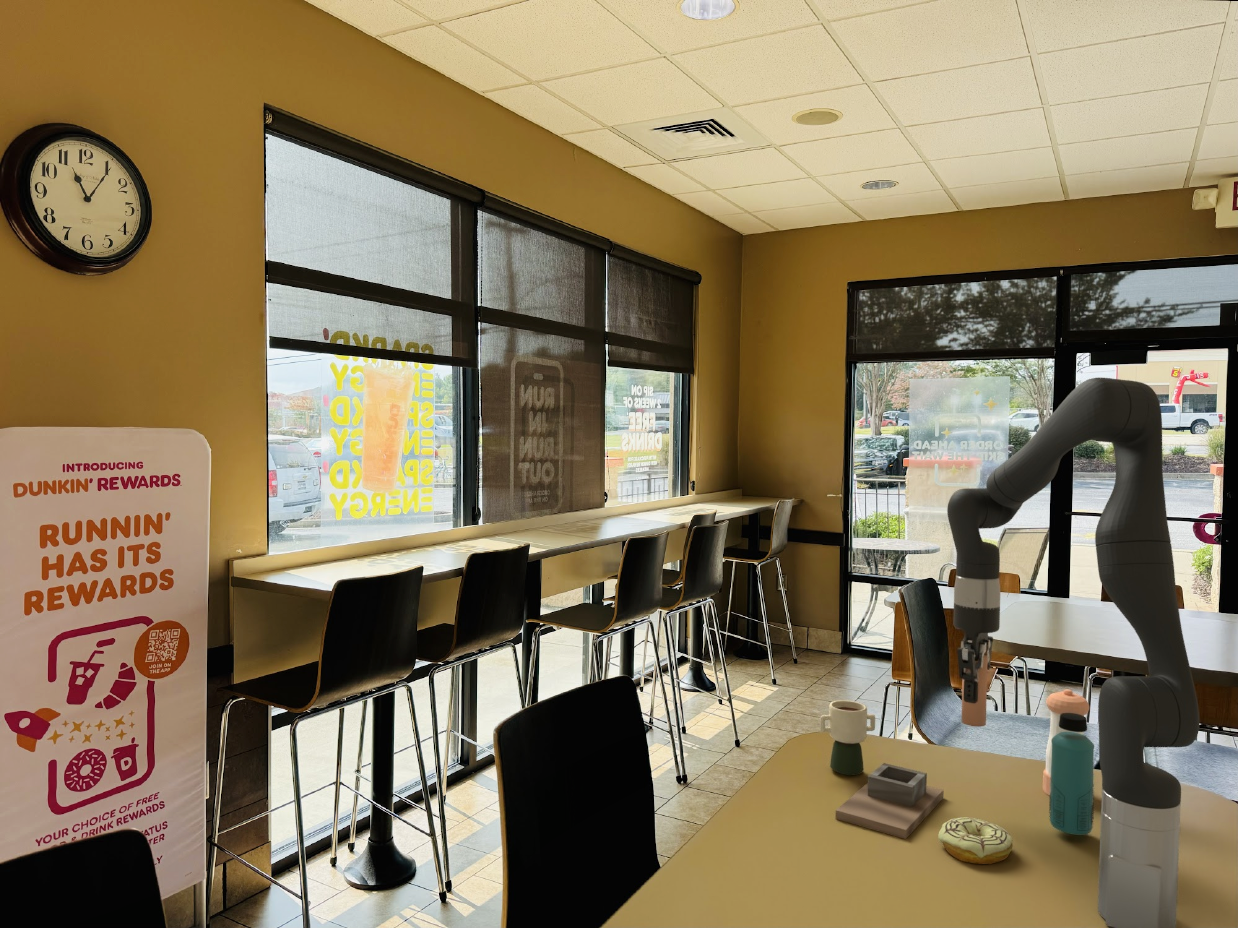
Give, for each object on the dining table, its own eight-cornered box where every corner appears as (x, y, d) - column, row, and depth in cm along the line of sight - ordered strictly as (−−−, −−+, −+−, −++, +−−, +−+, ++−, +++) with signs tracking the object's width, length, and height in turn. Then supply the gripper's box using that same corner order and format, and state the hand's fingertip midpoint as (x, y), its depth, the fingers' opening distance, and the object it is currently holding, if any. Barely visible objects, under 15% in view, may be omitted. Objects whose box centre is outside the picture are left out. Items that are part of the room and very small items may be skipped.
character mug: (867, 764, 176) (868, 699, 176) (881, 778, 169) (882, 710, 169) (813, 765, 175) (814, 700, 175) (824, 779, 168) (826, 711, 168)
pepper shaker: (1093, 793, 163) (1097, 690, 162) (1077, 804, 158) (1081, 698, 157) (1052, 781, 168) (1055, 681, 167) (1036, 792, 163) (1039, 689, 163)
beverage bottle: (1098, 846, 142) (1102, 722, 142) (1053, 841, 144) (1057, 719, 143) (1085, 828, 149) (1089, 710, 148) (1042, 824, 150) (1046, 707, 149)
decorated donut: (926, 848, 142) (926, 825, 141) (962, 830, 148) (963, 807, 148) (988, 874, 134) (988, 850, 133) (1023, 853, 140) (1024, 829, 140)
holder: (905, 838, 144) (906, 808, 144) (835, 818, 152) (836, 789, 151) (943, 797, 160) (944, 770, 160) (878, 781, 168) (878, 755, 167)
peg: (982, 728, 154) (984, 659, 153) (958, 723, 156) (960, 655, 156) (988, 722, 157) (990, 654, 157) (965, 717, 160) (966, 651, 159)
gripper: (988, 611, 148) (985, 713, 149) (1009, 598, 159) (1007, 693, 160) (942, 605, 152) (940, 704, 153) (966, 593, 164) (963, 685, 165)
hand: (974, 698), depth 157 cm, fingers closed on peg, 4 cm apart
